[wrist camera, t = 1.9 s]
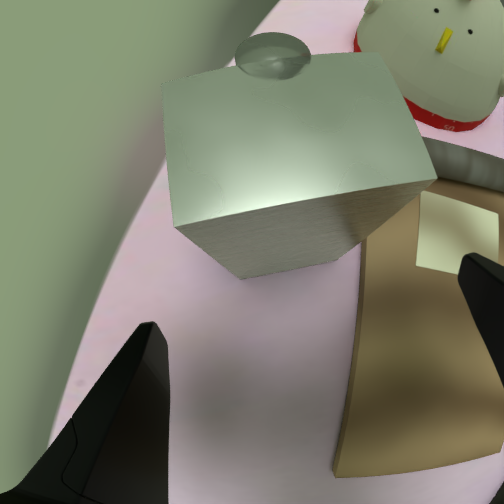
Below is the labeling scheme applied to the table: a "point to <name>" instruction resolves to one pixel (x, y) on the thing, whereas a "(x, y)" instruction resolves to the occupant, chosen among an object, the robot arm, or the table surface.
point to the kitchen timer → (440, 56)
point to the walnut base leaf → (425, 328)
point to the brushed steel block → (289, 155)
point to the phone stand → (499, 496)
